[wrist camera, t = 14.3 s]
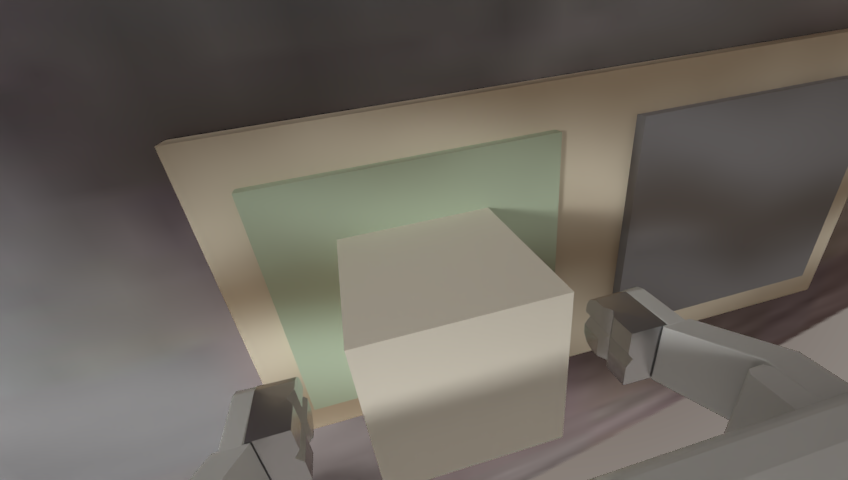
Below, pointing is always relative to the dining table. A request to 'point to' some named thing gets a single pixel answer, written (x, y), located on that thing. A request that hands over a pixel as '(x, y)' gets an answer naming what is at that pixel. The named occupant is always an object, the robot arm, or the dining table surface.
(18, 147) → the dining table surface
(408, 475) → the cream block
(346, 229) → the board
